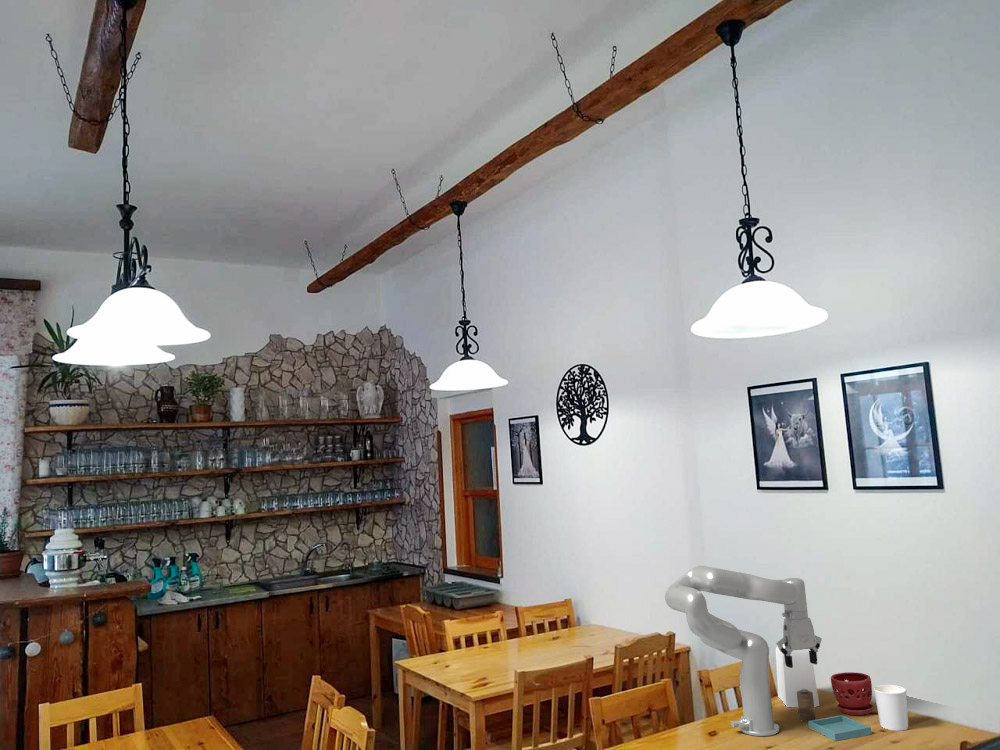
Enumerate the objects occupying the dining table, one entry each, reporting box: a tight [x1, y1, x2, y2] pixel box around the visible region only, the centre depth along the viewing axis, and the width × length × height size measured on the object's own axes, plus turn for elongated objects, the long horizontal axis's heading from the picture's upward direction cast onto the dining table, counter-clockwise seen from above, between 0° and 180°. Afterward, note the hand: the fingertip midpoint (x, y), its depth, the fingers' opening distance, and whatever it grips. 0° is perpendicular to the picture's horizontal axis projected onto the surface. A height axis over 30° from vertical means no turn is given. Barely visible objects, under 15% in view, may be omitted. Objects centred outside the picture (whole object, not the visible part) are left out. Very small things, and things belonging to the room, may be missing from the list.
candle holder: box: [872, 684, 909, 732], centre depth 256 cm, size 10×10×12 cm
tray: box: [807, 714, 872, 742], centre depth 255 cm, size 14×14×2 cm
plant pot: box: [830, 671, 874, 716], centre depth 274 cm, size 13×13×12 cm
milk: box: [775, 644, 820, 708], centre depth 288 cm, size 12×12×26 cm
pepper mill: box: [797, 689, 817, 723], centre depth 269 cm, size 5×5×10 cm
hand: (801, 665), depth 270 cm, fingers open, 9 cm apart
